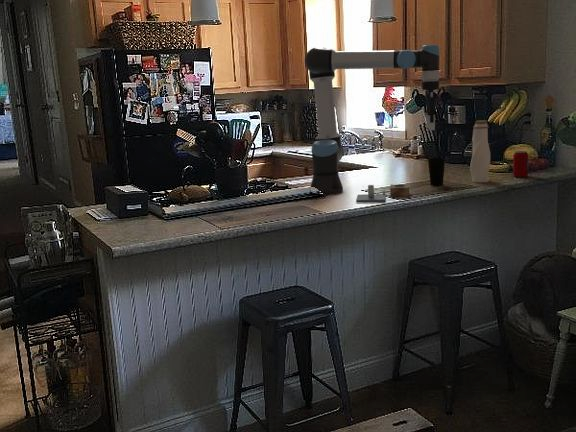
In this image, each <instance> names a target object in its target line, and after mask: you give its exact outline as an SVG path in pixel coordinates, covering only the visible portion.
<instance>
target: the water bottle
mask: <svg viewBox="0 0 576 432" xmlns="http://www.w3.org/2000/svg"><path fill="white" fill-rule="evenodd" d="M472 128H473V130H472V138H471V142H472V155H471V156H472V157H471V161H470V166H469V170H470V174H471V182H473V183H488V182H489V181H490V179H489V177H490V176H489V171H490V166H491V150H490V145H489V142H488V140H489V139H488V138H489V134H488V131H489V128H490V126H489V125H488V120H483V119H482V120H480V119H479V120H475V124H474V125H473V127H472Z"/></svg>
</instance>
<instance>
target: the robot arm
mask: <svg viewBox="0 0 576 432" xmlns="http://www.w3.org/2000/svg"><path fill="white" fill-rule="evenodd" d="M304 66H305V68H306V69H307V70H308V73H309V80H311V82H313V90H314V100H315V110H316V119H317V121H316V122H317V130H318V134H317V135H316V136H315V141H314V142H313V143H312V144H311V150H310V151H311V158H312V161H311V162H312V178H311V183H310V186H309V188H310V187H315V188H317V189H318V190H319V191H321V192H322V193H323V194H326V195H325V196H329V195H328V194H334V195H339V194H341V193H344V187H343V183H342V181H341V178H340V175H339V162H340V161H341V160H342V158H343V156H344V148H343V145H342V138H341V134H339V133H338V131H337V120H336V110H335V109H336V108H335V98H334V88H333V80H334V78H335V77H336V73H335V71H336V70H367V69H369V70H371V69H373V70H374V69H377V70H379V69H399V70H400V69H402V70H404V69H416V68H418V69H419V68H421V81H422V82H421V89H422V90H423V91H426V94H425V102H426V106H425V107H426V110H425V114H426V115H425V117H426V120H425V121H426V124H425V125H426V126H425V127H426V128H428V131H435V130H436V93H435V91H436V90H439V89H440V81H439V80H440V76H441V72H440V46H439V45H438V44H424V45H422V46H421V49H419V50H410V49H403V50H402V49H401V50H397V49H396V50H394V49H393V50H345V51H342V50H341V51H338V50H337V51H336V50H335V48H326V47H317V46H316V47H313V48H310V49H309V50H308V52H306V53H305V56H304ZM338 193H339V194H338Z"/></svg>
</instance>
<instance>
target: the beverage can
mask: <svg viewBox="0 0 576 432" xmlns="http://www.w3.org/2000/svg"><path fill="white" fill-rule="evenodd" d="M512 156H513V159H512V166H513V168H512V176H513V177H515V176H517V177H516V178H525V177H524V176H526V177H528V175H529V153H528V151H526V150H516V151H514V153H513V155H512Z"/></svg>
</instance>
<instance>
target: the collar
mask: <svg viewBox="0 0 576 432" xmlns="http://www.w3.org/2000/svg"><path fill="white" fill-rule="evenodd" d="M389 186H390V187H389V191H390V192H389V193H390V195H389V196H390V198H405V197H407V198H408V197H410V184H409V183H404V184H403V183H402V184H401V183H398V184H397V183H396V184H393V183H392V184H390V185H389Z"/></svg>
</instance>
